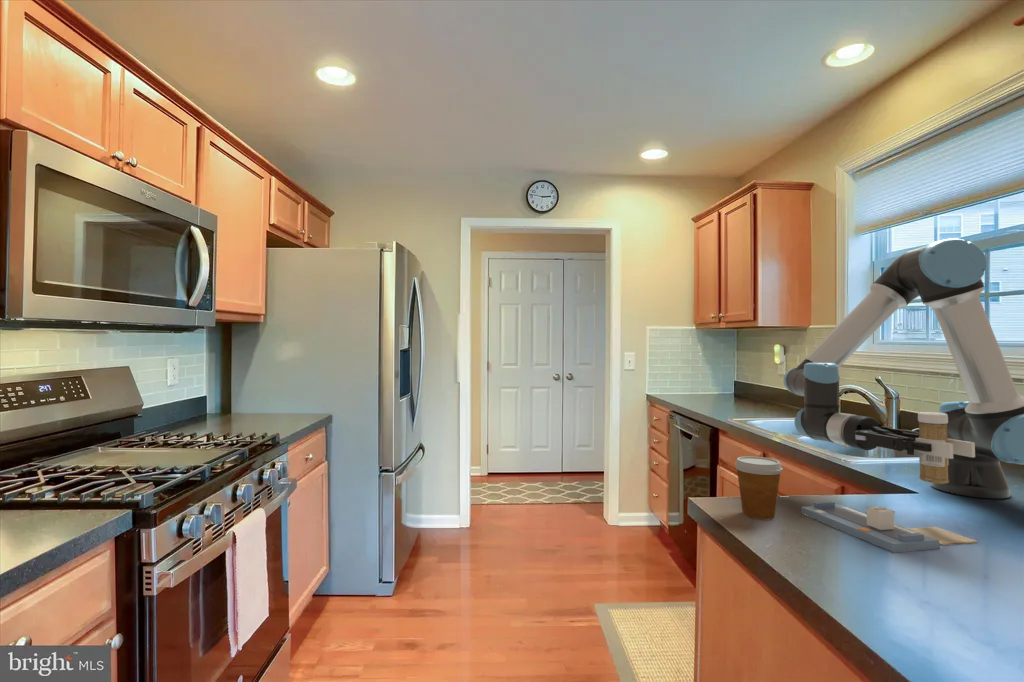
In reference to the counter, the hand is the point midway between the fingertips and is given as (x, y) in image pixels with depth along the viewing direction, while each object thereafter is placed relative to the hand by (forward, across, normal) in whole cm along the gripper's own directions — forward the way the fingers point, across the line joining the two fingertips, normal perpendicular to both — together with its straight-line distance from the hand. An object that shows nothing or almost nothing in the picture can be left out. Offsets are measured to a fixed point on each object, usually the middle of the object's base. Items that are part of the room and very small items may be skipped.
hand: (962, 450), depth 94 cm
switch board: (-11, +11, -18) cm, 23 cm away
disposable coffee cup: (-23, +26, -18) cm, 39 cm away
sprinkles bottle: (-5, 0, -7) cm, 9 cm away
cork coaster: (-5, 0, -18) cm, 18 cm away
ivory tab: (-7, +11, -16) cm, 20 cm away
